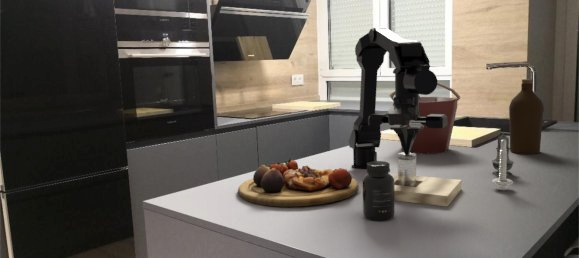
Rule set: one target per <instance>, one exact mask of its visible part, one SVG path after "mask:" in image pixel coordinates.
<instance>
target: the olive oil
mask: <svg viewBox="0 0 579 258" xmlns="http://www.w3.org/2000/svg"><path fill="white" fill-rule="evenodd" d="M533 85H534V84H533V79H531V78H523V79H521V87H520V88H521V90H520V92H518V93H517V94H516V96H514V97H513V98H512V100H511V101H510V104H509V108H508V112H509V113H508V114H509V148H510V150H509V151H510V152H511V153H514V154H520V155H536V154H539V153H541V141H542V131H543V120H544V119H543V118H544V112H545V109H544V108H545V107H544V104H543V103H544V102H543V101H542V99H541V98H540V97H539V96H538V95H537V94H536V93H535V92H534V91H533Z"/></svg>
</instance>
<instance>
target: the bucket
mask: <svg viewBox="0 0 579 258" xmlns="http://www.w3.org/2000/svg"><path fill="white" fill-rule="evenodd" d="M437 86H439V87H441V88H443V89H446V90H448V91H449V92H451V93H452V94H453V95H454V96H455V97H450V96H449V97H447V96H420V100H419V112H420V116H419V117H427V116H428V115H430V114H445V115H446V116H447V119H448V125H447V126H446V127H444V128H428V127H427V126H426V124H423V126H424V128H423V129H421V130H419V132H418V134H417V136H416V138H415V140H414V142H413V145H412V148H411V150H410V153H411V152H413V153H415V154H420V153H422V154H423V155H428V154H431V153H432V154H442V153H446V152H447V151H449V148H450V143H451V139H452V133H453V128H454V124H455V119H456V114H457V110H458V101H460V99H461V95H460V94H459V93H458V92H457V91H456V90H455V89H454V88H452V87H450V86H448V85H446V84H443V83H440V82H437ZM389 97H390V99H391V100H392V101H393V102H394V97H395V91H392V92H391V93H390V94H389ZM409 127H410V125H409V124H408V128H409ZM400 148H401V149H402V150H403V147H402V145H401V144H400ZM422 154H421V155H422Z"/></svg>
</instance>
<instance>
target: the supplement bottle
mask: <svg viewBox="0 0 579 258" xmlns="http://www.w3.org/2000/svg"><path fill="white" fill-rule="evenodd" d="M390 172H391V168H390V162H388V161H383V160H377V161H372V162H368V163H367V168H366V173H367V174H365V175H364V176H363V178H362V208H363V209H362V215H363V217H364V218H365V219H367V220H369V221H374V222H385V221H386V222H387V221H391V220H392V219H393V218H395V214H396V213H395V212H396V210H395V209H396V208H395V207H396V206H395V205H396V201H395V185H394V178H393V176H391V175H392V174H390Z"/></svg>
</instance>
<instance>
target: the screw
mask: <svg viewBox="0 0 579 258" xmlns="http://www.w3.org/2000/svg"><path fill="white" fill-rule="evenodd" d="M506 150H507V149H506V140H505V139H503V140H501V149H500V157H499V158H500V159H499V160H500V166H499V167H500V168H499V169H500V172H499V176H498V177H495V178H493V179H492V181H491V183H493V184H495V185H496V189H497V190H498V191H502V192H503V191H508V190H509V186H511V185H513V184H514V182H513V180H512V179H510V178H507V176H506V175H507V174H506V173H507V172H506V171H507V170H506V168H507V167H506V166H507V165H506V164H507V163H506V162H507V160H506V159H507V158H506V157H507V156H506V155H507V151H506Z"/></svg>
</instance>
